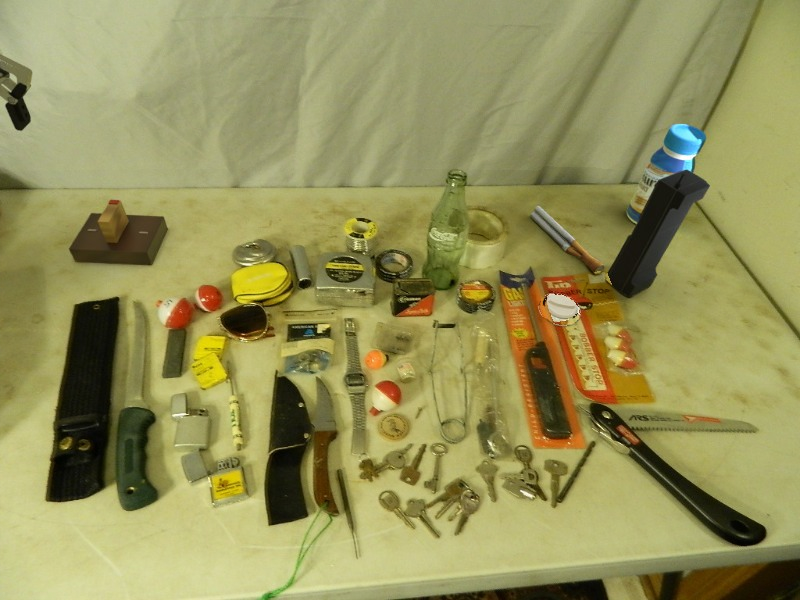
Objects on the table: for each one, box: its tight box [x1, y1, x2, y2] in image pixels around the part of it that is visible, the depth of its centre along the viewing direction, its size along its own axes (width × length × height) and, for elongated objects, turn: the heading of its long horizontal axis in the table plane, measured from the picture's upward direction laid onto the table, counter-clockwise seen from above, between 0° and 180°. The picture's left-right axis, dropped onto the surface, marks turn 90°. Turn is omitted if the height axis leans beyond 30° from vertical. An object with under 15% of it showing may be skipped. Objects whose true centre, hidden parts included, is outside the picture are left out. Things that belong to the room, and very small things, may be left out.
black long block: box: [606, 169, 711, 298], centre depth 90 cm, size 8×6×25 cm
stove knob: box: [537, 293, 581, 327], centre depth 92 cm, size 7×7×2 cm
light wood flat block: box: [98, 199, 129, 243], centre depth 92 cm, size 6×2×5 cm, turn 1°
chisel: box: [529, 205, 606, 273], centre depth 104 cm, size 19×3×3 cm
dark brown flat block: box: [68, 212, 169, 266], centre depth 95 cm, size 13×10×3 cm
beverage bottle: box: [626, 123, 707, 225], centre depth 106 cm, size 8×8×20 cm
